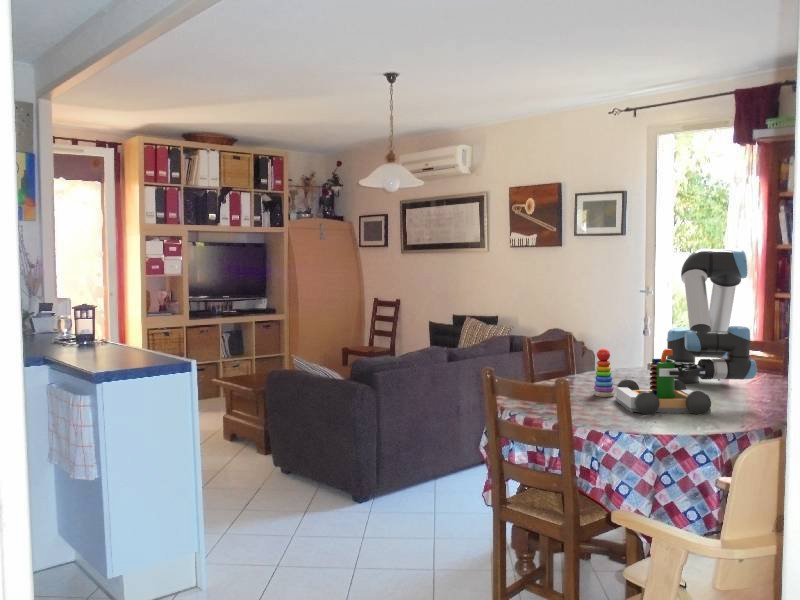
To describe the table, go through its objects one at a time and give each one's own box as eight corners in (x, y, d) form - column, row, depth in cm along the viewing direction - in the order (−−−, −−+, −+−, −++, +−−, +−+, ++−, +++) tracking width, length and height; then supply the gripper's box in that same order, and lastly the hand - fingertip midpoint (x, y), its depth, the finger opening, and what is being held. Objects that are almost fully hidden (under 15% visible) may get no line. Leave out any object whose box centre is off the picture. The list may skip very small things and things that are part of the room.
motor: (643, 399, 269) (644, 347, 268) (666, 399, 270) (667, 346, 269) (655, 405, 259) (656, 351, 258) (679, 405, 260) (680, 350, 259)
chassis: (613, 399, 278) (614, 378, 277) (686, 399, 277) (687, 378, 276) (633, 414, 252) (634, 392, 252) (713, 414, 252) (714, 392, 251)
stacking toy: (614, 394, 288) (615, 347, 286) (613, 398, 280) (614, 350, 279) (594, 392, 290) (594, 347, 289) (592, 396, 283) (593, 349, 281)
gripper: (725, 385, 251) (664, 385, 252) (697, 373, 276) (642, 373, 276) (726, 364, 251) (665, 364, 251) (698, 353, 275) (642, 354, 276)
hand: (653, 369), depth 264 cm, fingers open, 13 cm apart
